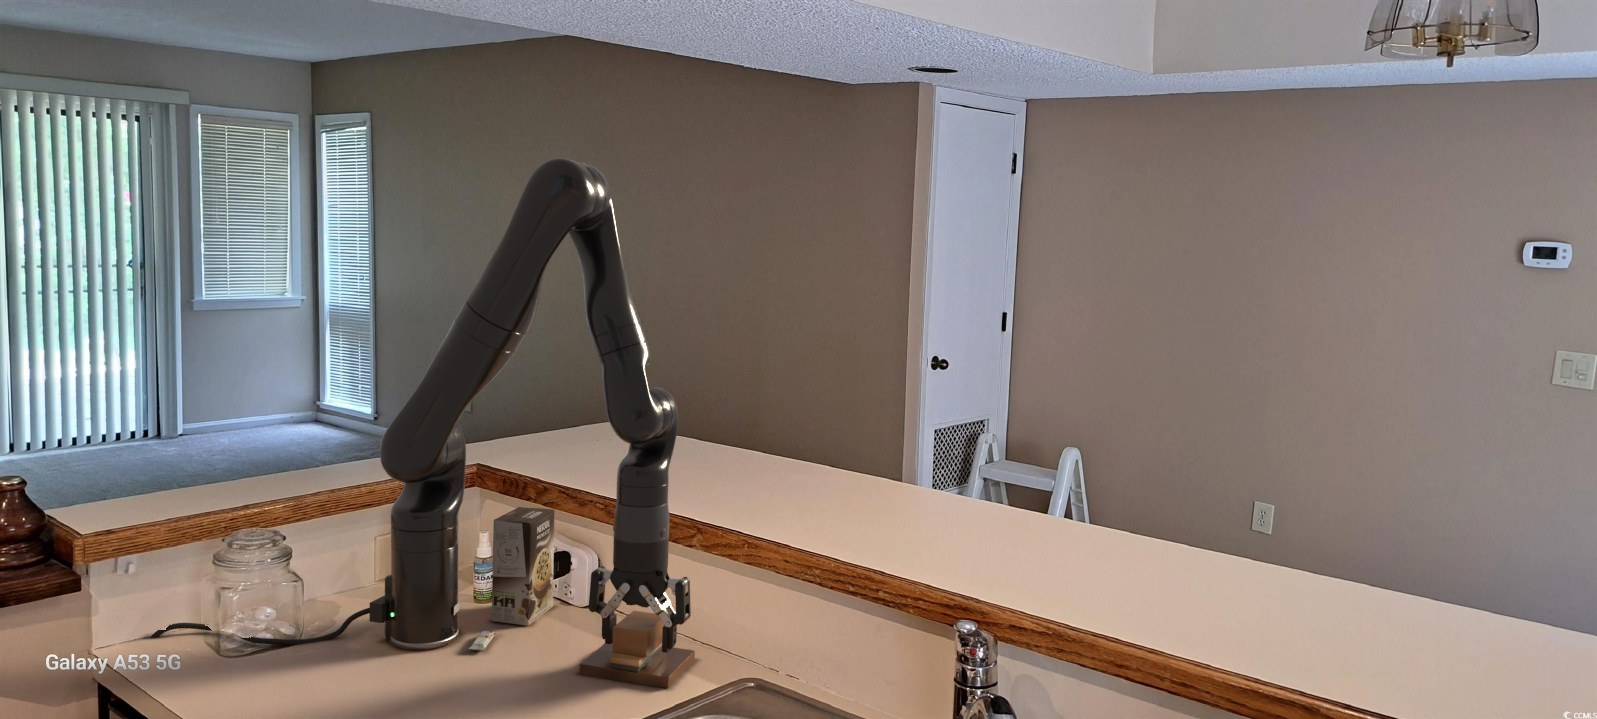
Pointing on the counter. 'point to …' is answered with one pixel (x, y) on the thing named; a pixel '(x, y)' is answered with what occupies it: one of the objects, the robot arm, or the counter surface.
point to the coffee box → (522, 565)
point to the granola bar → (482, 640)
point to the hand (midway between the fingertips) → (638, 646)
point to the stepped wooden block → (636, 641)
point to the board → (654, 673)
